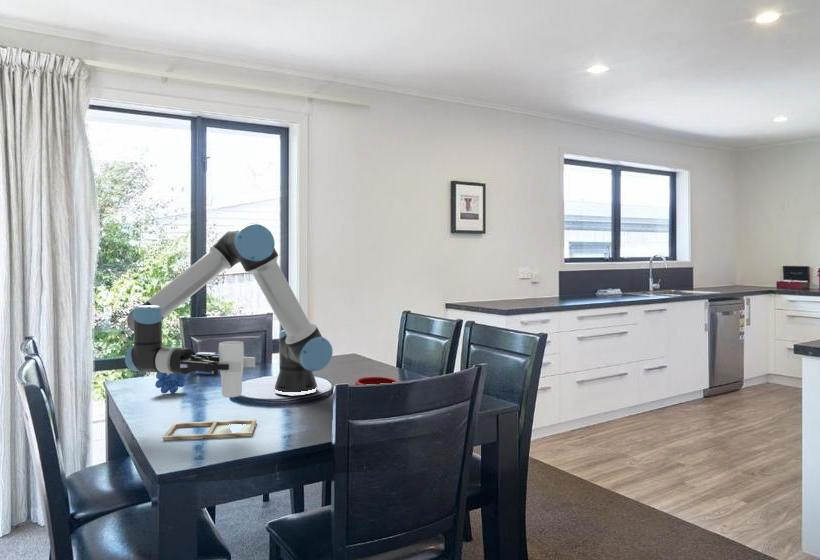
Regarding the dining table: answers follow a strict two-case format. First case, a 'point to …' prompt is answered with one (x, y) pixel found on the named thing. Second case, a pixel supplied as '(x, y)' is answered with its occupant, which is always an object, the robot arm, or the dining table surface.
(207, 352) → the medicine box
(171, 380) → the grapes
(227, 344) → the drinking glass
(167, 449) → the dining table surface
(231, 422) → the wooden window frame
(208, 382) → the dining table surface
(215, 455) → the dining table surface
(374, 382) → the plant pot
